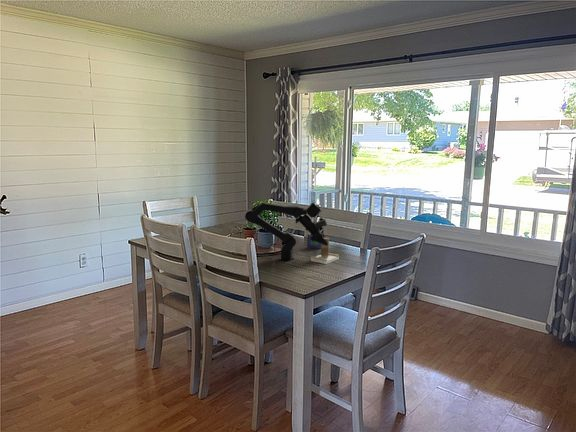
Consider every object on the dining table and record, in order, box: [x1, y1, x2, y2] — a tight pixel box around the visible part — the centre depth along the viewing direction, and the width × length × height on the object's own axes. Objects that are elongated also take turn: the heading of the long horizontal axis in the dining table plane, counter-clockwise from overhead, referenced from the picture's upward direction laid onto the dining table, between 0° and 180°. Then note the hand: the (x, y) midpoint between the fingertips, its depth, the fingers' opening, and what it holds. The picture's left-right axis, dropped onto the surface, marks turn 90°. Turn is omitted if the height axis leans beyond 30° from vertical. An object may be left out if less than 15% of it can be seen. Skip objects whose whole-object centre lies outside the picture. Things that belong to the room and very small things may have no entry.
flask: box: [306, 233, 321, 250], centre depth 264 cm, size 9×3×11 cm, turn 88°
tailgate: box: [309, 252, 340, 265], centre depth 240 cm, size 13×11×2 cm
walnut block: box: [320, 236, 330, 257], centre depth 239 cm, size 4×4×10 cm
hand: (327, 244), depth 238 cm, fingers closed on walnut block, 4 cm apart
